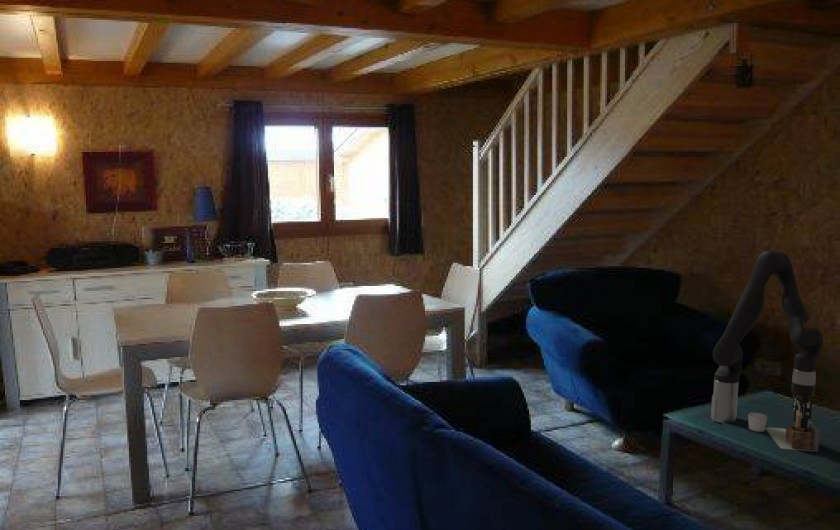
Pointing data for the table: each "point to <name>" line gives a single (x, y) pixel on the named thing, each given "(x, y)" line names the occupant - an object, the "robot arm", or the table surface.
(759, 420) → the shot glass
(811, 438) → the wooden open box
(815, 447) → the wall
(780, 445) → the board
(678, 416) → the table surface
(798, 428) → the dowel
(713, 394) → the robot arm
